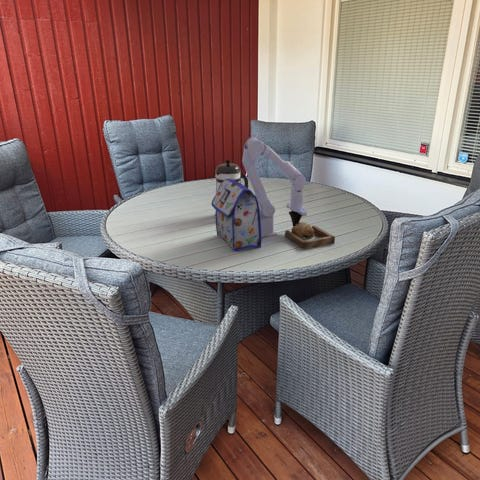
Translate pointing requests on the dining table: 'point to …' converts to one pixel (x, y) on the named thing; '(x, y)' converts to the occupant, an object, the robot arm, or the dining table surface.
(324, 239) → the roll holder
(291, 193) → the robot arm
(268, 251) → the dining table surface
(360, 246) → the dining table surface
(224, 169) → the coffee press
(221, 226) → the lunch bag
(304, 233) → the bread roll
